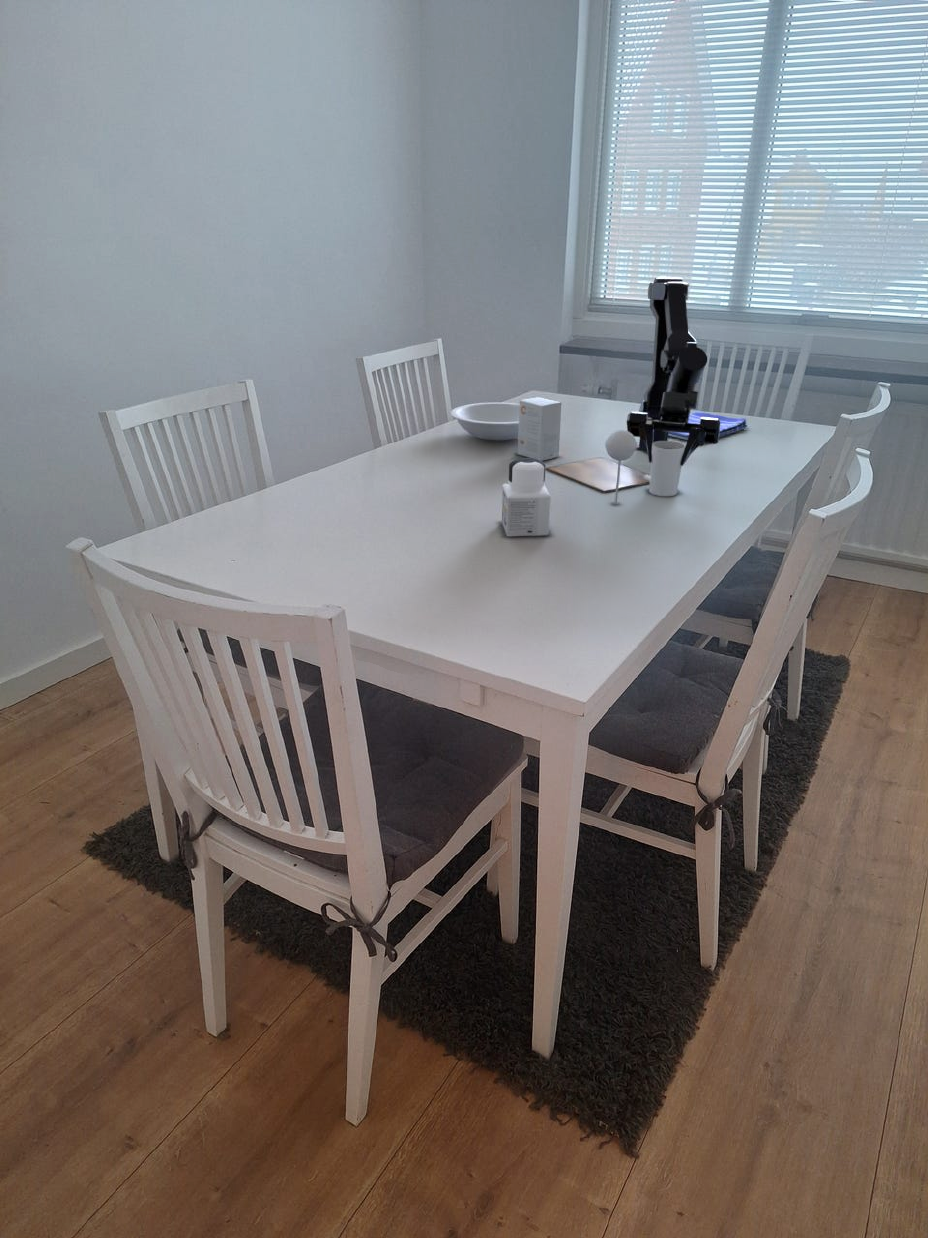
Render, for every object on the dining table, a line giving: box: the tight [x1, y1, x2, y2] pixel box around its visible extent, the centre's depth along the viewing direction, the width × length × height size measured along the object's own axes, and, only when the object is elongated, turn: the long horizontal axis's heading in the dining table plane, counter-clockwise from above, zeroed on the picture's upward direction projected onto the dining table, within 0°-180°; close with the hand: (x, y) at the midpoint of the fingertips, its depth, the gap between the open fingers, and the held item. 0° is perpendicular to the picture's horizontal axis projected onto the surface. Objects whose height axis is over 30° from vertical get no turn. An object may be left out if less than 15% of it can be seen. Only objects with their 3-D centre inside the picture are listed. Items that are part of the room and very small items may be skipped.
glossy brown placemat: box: [546, 457, 650, 494], centre depth 182 cm, size 16×20×1 cm
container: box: [501, 457, 552, 537], centre depth 148 cm, size 8×8×13 cm
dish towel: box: [668, 411, 748, 441], centre depth 218 cm, size 17×24×3 cm
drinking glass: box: [648, 440, 686, 497], centre depth 169 cm, size 7×7×10 cm
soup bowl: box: [450, 402, 520, 441], centre depth 209 cm, size 24×24×7 cm
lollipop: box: [604, 429, 638, 506], centre depth 160 cm, size 6×6×15 cm
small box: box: [517, 396, 562, 462], centre depth 193 cm, size 8×6×13 cm
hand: (665, 463), depth 167 cm, fingers closed on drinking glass, 6 cm apart
